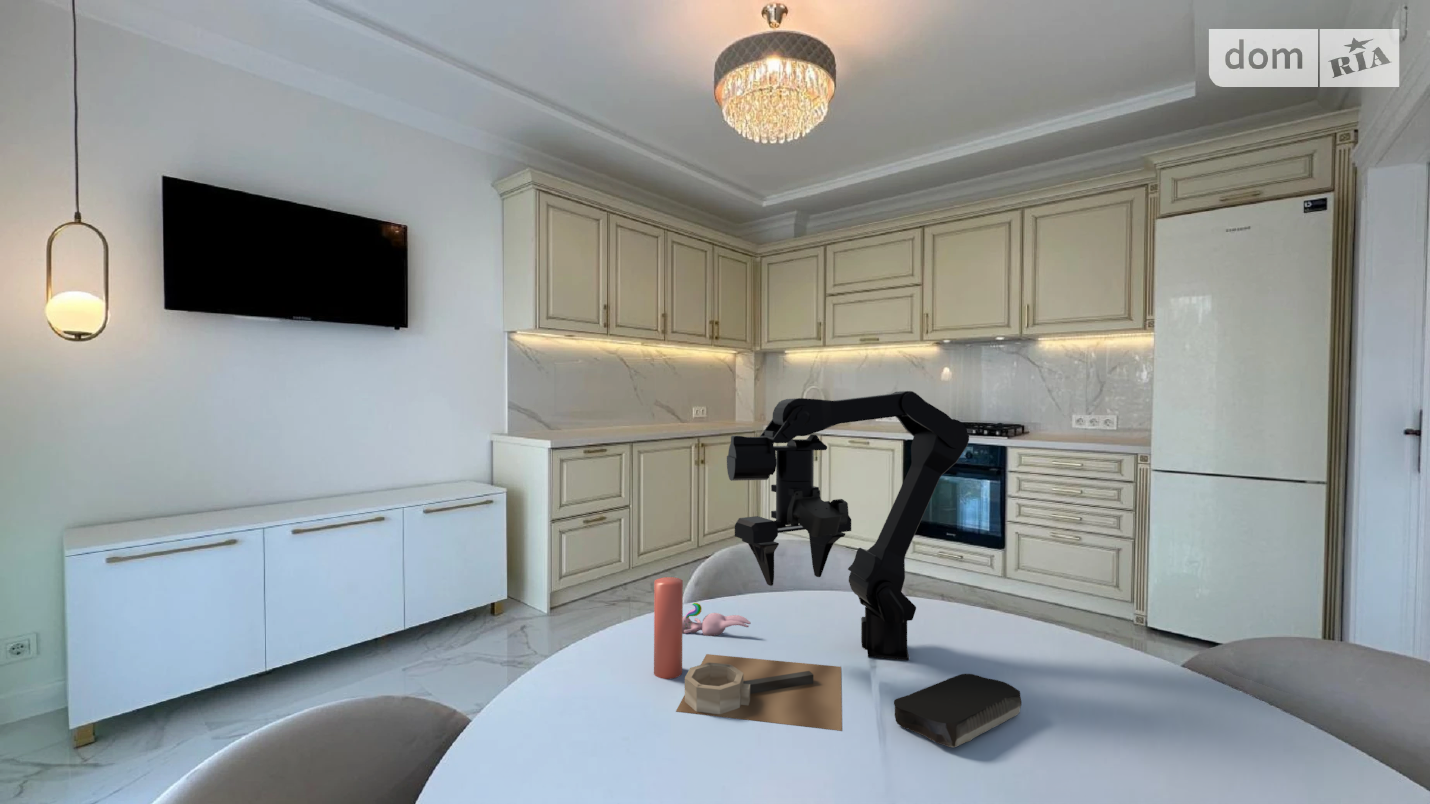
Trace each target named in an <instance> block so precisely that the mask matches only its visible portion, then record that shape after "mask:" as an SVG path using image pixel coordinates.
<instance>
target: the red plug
mask: <svg viewBox="0 0 1430 804" xmlns="http://www.w3.org/2000/svg"><path fill="white" fill-rule="evenodd" d="M653 585H654V590H653V591H654V592H653V593H654V599H653V600H654V602H653V603H654V604H653V611H654V612H653V615H654V616H653V627H654V628H653V636H654V637H653V642H654V643H653V675H654V676H655V677H657V678H659V679H663V680H670V679H671V680H672V679H675V678H678V677H680V676H681V675H682V673H683V634H682V625H683V617H684V616H683V611H684V610H683V607H684V606H683V597H684V594H683V591H684V590H683V589H684V587H683V585H684V582H683V579H681V578H679V577H672V576H668V577H667V576H666V577H659V578H657V579H655V580H654V584H653Z"/></svg>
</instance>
